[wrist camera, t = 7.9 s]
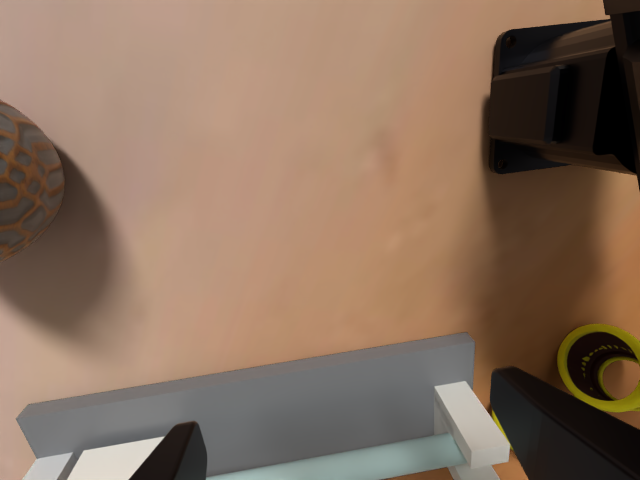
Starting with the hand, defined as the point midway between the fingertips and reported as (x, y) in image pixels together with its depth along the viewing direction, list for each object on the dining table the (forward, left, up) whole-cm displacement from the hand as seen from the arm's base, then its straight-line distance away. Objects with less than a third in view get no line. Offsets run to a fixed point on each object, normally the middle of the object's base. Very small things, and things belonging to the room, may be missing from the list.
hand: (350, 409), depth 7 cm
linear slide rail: (+4, +13, -12) cm, 18 cm away
